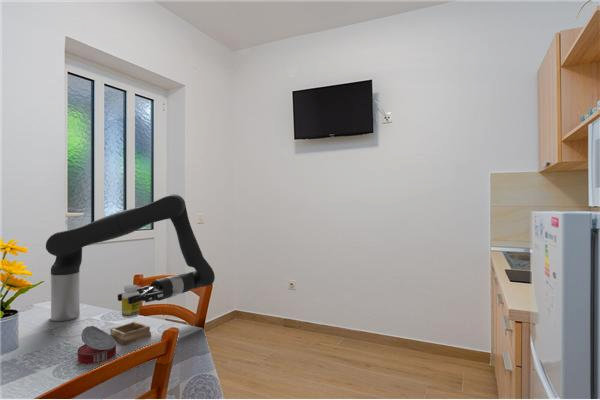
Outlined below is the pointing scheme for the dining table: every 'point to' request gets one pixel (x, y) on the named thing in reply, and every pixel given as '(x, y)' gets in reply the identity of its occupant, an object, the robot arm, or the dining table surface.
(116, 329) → the wooden box
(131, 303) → the robot arm
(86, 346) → the canned food
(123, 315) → the supplement bottle
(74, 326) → the dining table surface
